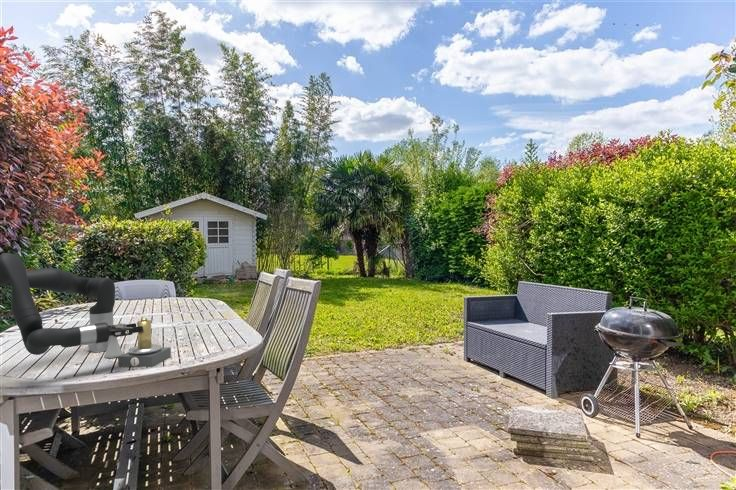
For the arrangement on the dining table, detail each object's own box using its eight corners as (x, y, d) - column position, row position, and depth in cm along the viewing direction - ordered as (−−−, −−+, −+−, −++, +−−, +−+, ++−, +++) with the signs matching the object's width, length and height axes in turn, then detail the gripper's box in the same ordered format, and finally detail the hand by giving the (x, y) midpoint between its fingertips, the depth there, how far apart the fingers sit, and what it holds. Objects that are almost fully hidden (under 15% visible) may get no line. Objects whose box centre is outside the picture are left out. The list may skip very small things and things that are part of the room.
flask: (109, 359, 180) (108, 336, 180) (100, 357, 184) (100, 334, 184) (126, 355, 186) (126, 332, 186) (118, 353, 190) (117, 331, 190)
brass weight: (135, 349, 174) (134, 319, 173) (142, 346, 179) (141, 317, 178) (147, 349, 173) (146, 319, 173) (154, 346, 178) (153, 317, 178)
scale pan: (121, 354, 170) (121, 351, 170) (139, 346, 182) (139, 344, 182) (151, 354, 170) (150, 351, 170) (167, 346, 182) (167, 344, 182)
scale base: (117, 367, 169) (117, 355, 169) (139, 356, 184) (139, 346, 183) (151, 366, 168) (151, 355, 168) (170, 356, 183) (170, 346, 183)
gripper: (97, 326, 158) (144, 320, 169) (88, 321, 168) (133, 316, 179) (98, 346, 158) (145, 339, 169) (88, 340, 168) (134, 333, 180)
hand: (139, 327), depth 174 cm, fingers open, 8 cm apart
